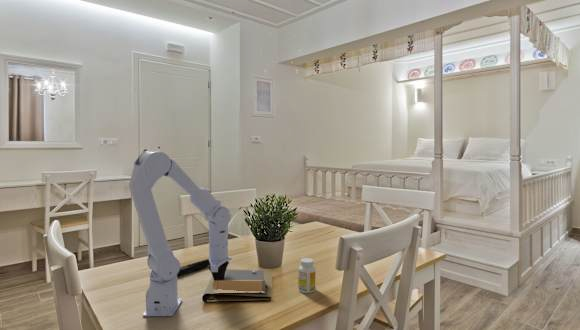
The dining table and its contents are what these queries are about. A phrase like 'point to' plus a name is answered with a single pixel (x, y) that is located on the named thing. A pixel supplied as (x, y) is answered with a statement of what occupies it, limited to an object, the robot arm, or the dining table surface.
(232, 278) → the camera body
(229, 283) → the side door
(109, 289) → the dining table surface
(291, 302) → the dining table surface
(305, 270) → the supplement bottle
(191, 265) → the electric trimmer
